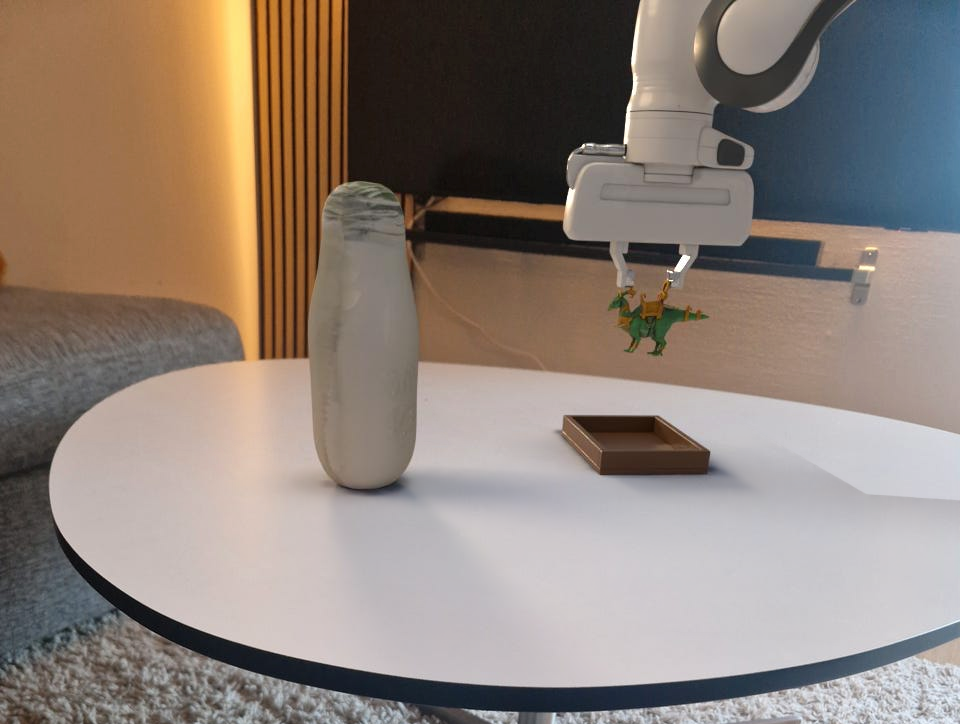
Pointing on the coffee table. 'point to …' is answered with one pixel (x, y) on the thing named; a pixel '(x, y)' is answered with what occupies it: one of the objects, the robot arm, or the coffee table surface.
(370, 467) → the grey tall rounded cylinder
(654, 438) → the walnut tray
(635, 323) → the figurine
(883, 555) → the coffee table surface
